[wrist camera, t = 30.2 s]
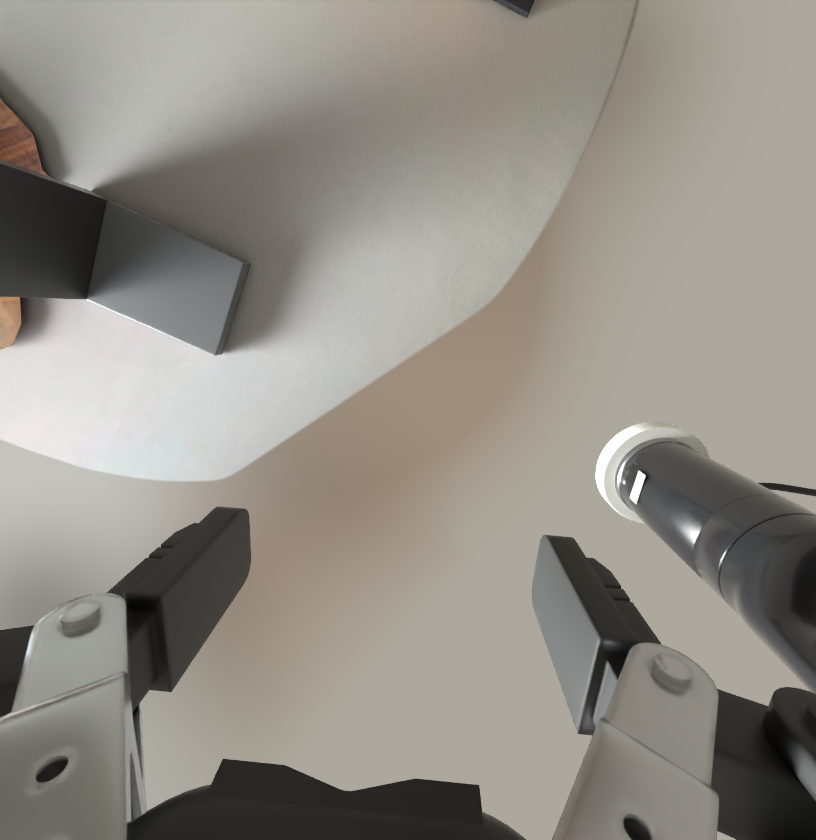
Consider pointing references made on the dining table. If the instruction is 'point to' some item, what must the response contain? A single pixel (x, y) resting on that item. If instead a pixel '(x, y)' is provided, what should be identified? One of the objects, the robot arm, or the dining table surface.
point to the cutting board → (16, 144)
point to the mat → (518, 5)
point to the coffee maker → (113, 259)
